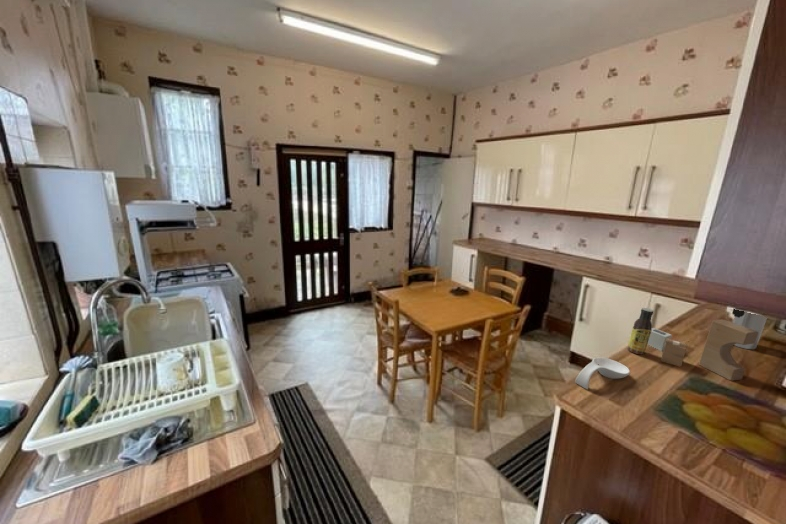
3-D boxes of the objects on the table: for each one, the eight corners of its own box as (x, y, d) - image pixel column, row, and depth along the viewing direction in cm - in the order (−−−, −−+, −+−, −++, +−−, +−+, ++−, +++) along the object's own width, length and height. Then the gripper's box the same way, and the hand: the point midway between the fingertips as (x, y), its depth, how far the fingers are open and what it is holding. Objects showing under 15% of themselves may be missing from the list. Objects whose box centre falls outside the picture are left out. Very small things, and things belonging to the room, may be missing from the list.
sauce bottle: (631, 354, 134) (642, 311, 128) (623, 346, 140) (633, 305, 134) (648, 356, 133) (660, 313, 127) (640, 348, 139) (650, 307, 133)
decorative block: (742, 379, 118) (759, 332, 112) (730, 381, 117) (747, 333, 111) (708, 363, 128) (723, 318, 123) (697, 364, 127) (711, 319, 122)
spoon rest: (602, 362, 128) (605, 346, 126) (634, 378, 118) (638, 361, 116) (565, 378, 117) (569, 361, 115) (598, 397, 107) (602, 379, 105)
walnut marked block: (661, 355, 134) (666, 337, 131) (680, 360, 130) (685, 342, 128) (661, 361, 129) (666, 343, 127) (680, 366, 125) (686, 348, 123)
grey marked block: (650, 341, 145) (653, 327, 143) (667, 348, 139) (671, 334, 137) (643, 343, 143) (647, 329, 141) (661, 351, 137) (665, 336, 135)
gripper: (782, 275, 108) (765, 320, 113) (728, 266, 119) (715, 308, 123) (778, 278, 104) (761, 326, 109) (723, 269, 115) (709, 312, 119)
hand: (737, 316), depth 116 cm, fingers closed
